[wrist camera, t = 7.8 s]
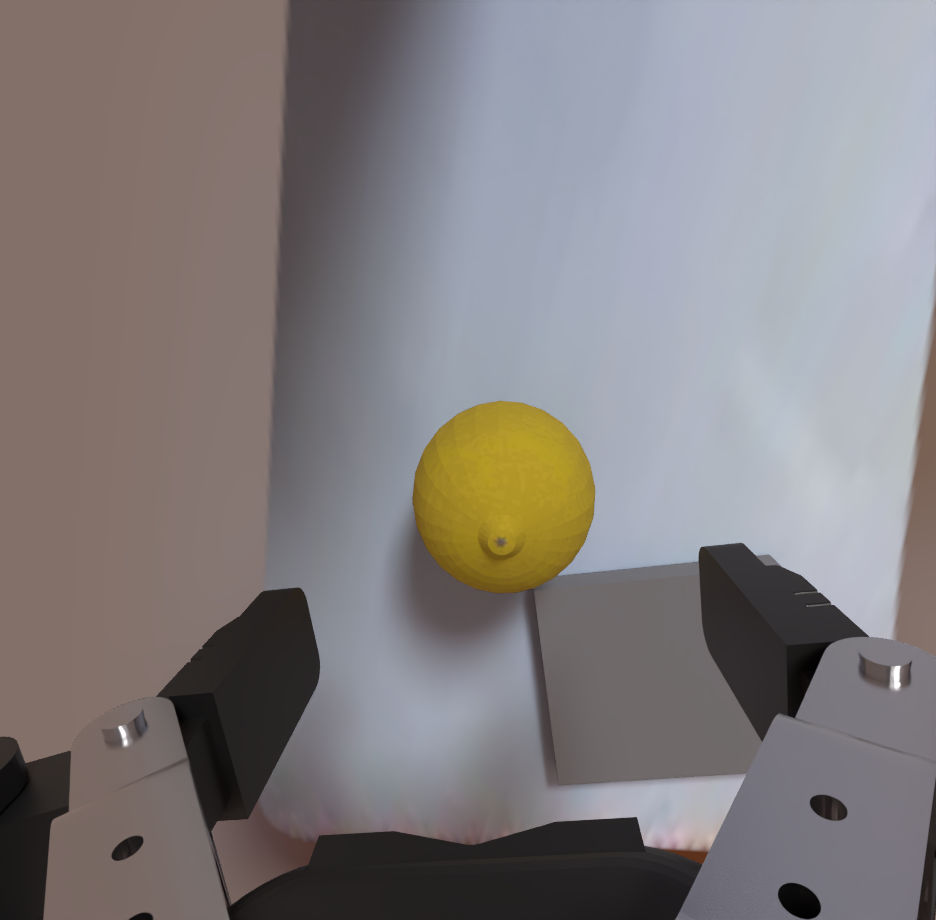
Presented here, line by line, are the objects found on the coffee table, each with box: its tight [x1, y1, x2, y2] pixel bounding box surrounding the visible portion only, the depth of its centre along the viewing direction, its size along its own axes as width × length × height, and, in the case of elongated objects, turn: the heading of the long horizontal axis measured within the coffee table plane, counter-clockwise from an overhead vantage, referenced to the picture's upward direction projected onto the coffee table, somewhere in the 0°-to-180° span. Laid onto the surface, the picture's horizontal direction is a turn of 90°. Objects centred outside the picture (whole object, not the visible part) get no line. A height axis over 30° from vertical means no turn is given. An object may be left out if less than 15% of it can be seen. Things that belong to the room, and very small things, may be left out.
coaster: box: [534, 555, 781, 785], centre depth 23 cm, size 9×9×1 cm
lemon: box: [413, 401, 595, 593], centre depth 18 cm, size 6×6×8 cm
